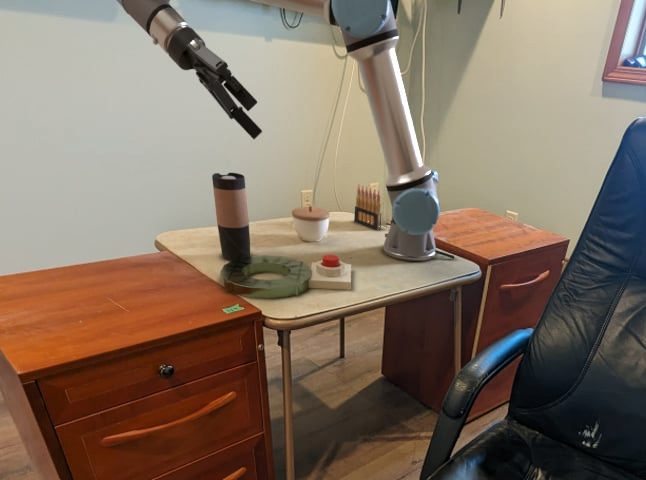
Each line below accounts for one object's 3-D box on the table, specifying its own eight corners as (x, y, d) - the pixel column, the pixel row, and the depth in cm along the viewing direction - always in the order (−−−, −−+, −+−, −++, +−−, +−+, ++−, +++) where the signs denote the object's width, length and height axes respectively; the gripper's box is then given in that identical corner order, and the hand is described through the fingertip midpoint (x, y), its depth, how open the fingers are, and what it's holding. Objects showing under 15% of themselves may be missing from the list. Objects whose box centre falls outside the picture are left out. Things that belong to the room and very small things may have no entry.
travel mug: (243, 263, 132) (235, 181, 121) (215, 258, 133) (205, 176, 121) (256, 254, 138) (250, 175, 127) (230, 250, 139) (221, 170, 128)
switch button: (339, 263, 129) (339, 255, 128) (338, 269, 126) (338, 260, 124) (322, 262, 128) (322, 254, 127) (322, 268, 125) (322, 259, 124)
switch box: (350, 271, 134) (351, 256, 132) (350, 290, 125) (350, 274, 122) (312, 269, 133) (311, 254, 131) (308, 287, 123) (308, 271, 121)
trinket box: (299, 245, 147) (298, 212, 142) (288, 234, 154) (286, 201, 149) (334, 243, 152) (335, 210, 146) (321, 231, 159) (321, 200, 154)
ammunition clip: (353, 221, 171) (355, 183, 164) (357, 221, 172) (359, 183, 165) (377, 230, 166) (379, 191, 159) (380, 229, 167) (383, 190, 160)
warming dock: (314, 267, 134) (314, 258, 133) (308, 300, 118) (307, 290, 116) (231, 262, 132) (230, 253, 130) (213, 295, 115) (211, 285, 113)
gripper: (180, 84, 120) (248, 155, 125) (149, 13, 96) (236, 104, 100) (203, 63, 121) (270, 135, 125) (178, -13, 97) (263, 79, 101)
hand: (255, 121), depth 113 cm, fingers open, 13 cm apart
